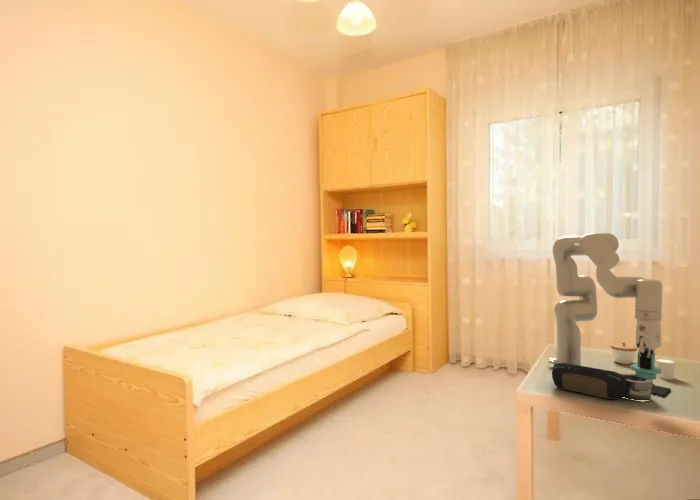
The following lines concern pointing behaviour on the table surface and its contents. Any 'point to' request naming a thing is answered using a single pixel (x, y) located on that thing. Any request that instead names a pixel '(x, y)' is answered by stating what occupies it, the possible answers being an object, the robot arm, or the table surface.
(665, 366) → the beige cup
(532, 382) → the table surface
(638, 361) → the teal disc with handle
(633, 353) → the lidded jar
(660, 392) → the handheld gaming console
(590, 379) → the portable speaker
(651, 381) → the octagonal studded bezel
